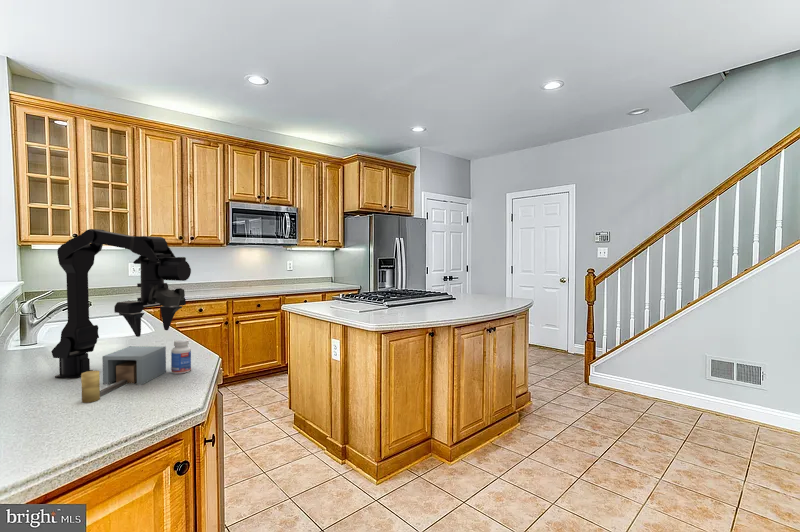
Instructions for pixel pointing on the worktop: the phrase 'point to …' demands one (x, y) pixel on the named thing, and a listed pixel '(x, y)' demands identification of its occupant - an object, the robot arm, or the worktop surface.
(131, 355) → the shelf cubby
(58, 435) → the worktop surface
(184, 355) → the pill bottle
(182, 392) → the worktop surface
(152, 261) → the robot arm
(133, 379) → the block
